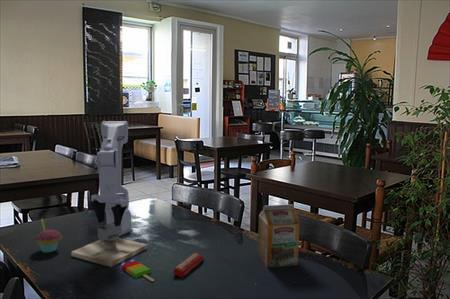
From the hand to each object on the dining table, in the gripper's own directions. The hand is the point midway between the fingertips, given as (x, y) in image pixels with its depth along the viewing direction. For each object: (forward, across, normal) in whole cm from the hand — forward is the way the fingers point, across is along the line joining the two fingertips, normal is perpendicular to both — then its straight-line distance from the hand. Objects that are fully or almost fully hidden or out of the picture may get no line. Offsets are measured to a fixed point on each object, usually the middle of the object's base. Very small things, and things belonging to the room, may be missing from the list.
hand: (109, 223), depth 143 cm
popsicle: (+11, +20, -8) cm, 24 cm away
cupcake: (+10, -20, -9) cm, 24 cm away
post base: (+10, 0, 0) cm, 10 cm away
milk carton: (+10, +53, +23) cm, 59 cm away
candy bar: (+11, +31, +3) cm, 33 cm away
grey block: (+5, 0, 0) cm, 5 cm away
